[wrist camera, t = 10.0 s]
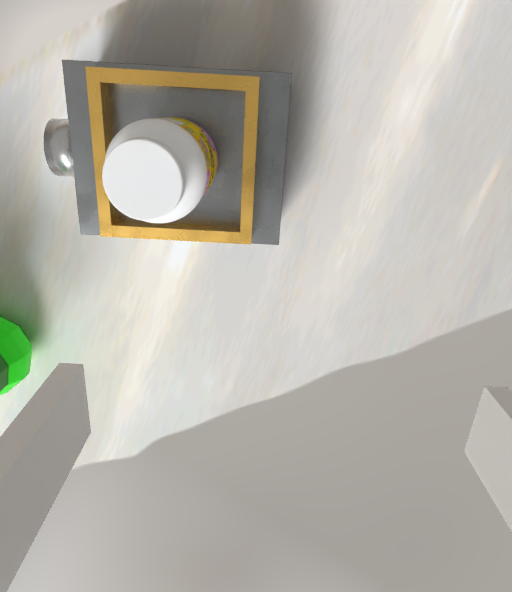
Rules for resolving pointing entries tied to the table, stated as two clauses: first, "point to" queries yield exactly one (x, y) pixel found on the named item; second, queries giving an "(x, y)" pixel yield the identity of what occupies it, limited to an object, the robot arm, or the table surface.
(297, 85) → the table surface
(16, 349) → the plastic bottle
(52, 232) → the table surface
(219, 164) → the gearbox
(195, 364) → the table surface
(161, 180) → the supplement bottle
